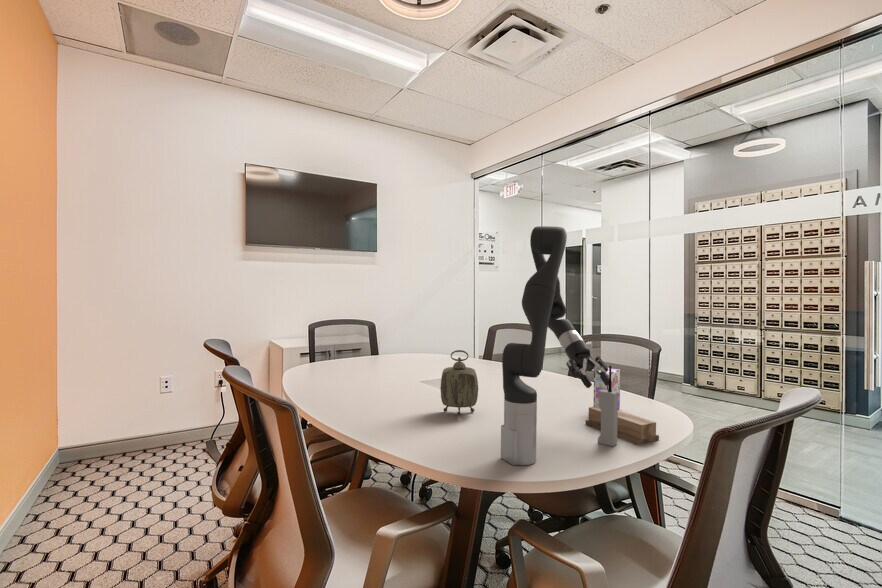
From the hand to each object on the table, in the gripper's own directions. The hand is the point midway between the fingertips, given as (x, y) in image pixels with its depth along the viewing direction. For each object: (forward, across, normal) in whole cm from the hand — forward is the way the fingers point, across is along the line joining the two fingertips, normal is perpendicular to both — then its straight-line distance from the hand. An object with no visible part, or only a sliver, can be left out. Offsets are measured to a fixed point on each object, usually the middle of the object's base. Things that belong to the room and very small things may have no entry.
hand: (599, 385), depth 136 cm
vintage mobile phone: (+15, 0, +10) cm, 18 cm away
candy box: (-3, +29, +29) cm, 41 cm away
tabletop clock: (-18, -28, +44) cm, 55 cm away
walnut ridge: (+11, +13, +14) cm, 22 cm away
